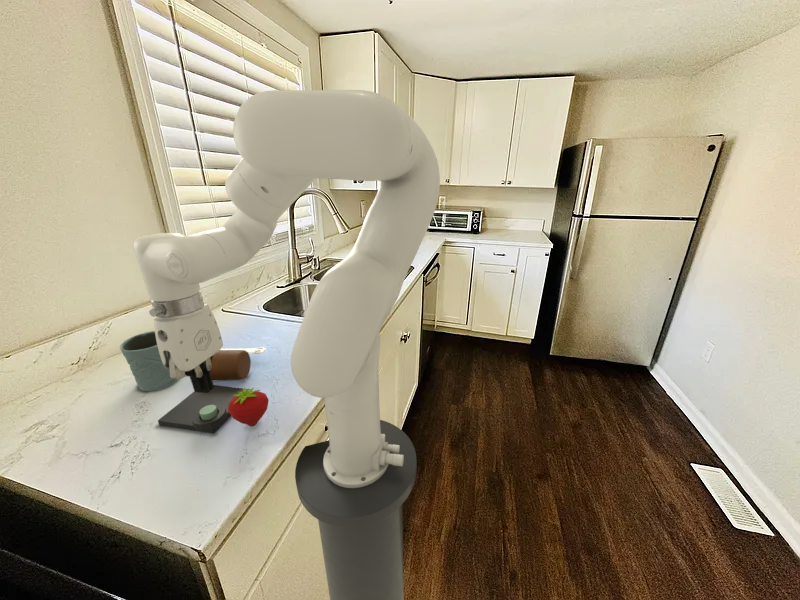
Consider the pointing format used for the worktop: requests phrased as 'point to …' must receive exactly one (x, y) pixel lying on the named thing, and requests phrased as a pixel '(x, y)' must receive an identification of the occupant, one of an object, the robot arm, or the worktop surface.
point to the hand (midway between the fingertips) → (204, 389)
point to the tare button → (208, 412)
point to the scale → (190, 407)
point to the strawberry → (248, 406)
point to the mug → (230, 365)
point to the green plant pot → (146, 362)
